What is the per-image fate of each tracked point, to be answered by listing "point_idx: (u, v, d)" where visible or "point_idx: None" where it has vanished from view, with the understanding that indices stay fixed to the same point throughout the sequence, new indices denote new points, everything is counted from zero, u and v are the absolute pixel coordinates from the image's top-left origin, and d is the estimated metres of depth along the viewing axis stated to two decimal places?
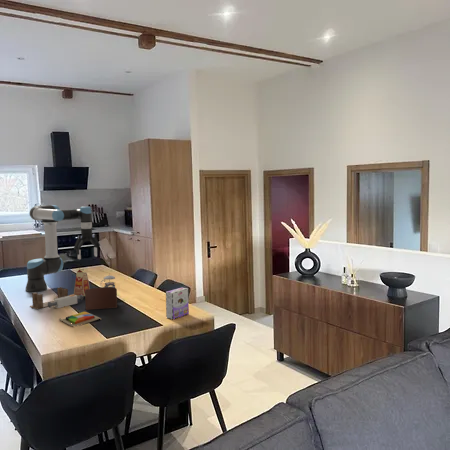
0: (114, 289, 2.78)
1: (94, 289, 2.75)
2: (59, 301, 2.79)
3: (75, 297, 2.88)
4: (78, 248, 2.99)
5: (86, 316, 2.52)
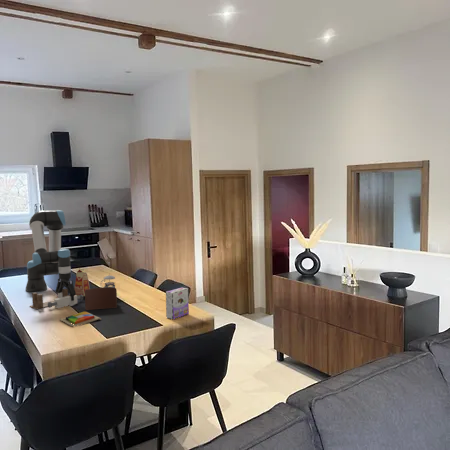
0: (114, 289, 2.78)
1: (94, 289, 2.74)
2: (59, 301, 2.79)
3: (75, 297, 2.88)
4: (57, 291, 2.89)
5: (86, 316, 2.52)
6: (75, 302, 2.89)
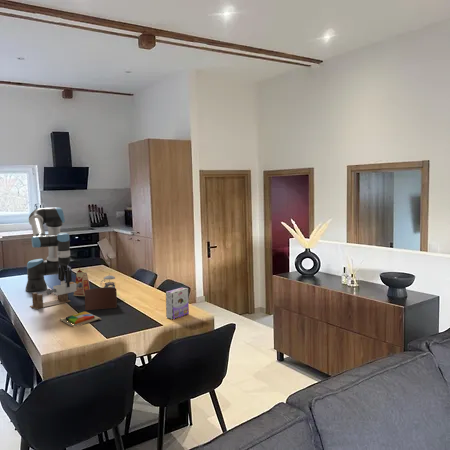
0: (114, 289, 2.78)
1: (94, 289, 2.74)
2: (58, 288, 2.79)
3: (74, 284, 2.88)
4: (60, 279, 2.86)
5: (86, 316, 2.52)
6: (74, 289, 2.88)
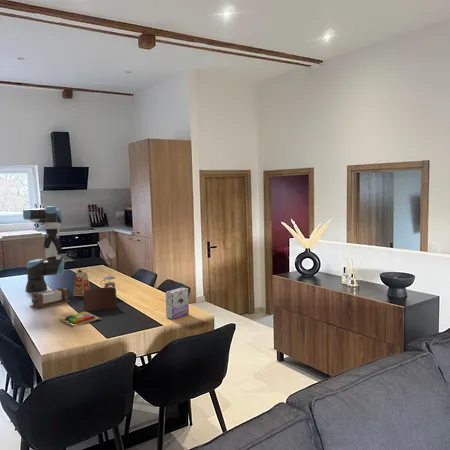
0: (113, 289, 2.77)
1: (93, 290, 2.73)
2: (43, 297, 2.81)
3: (59, 293, 2.91)
4: (45, 246, 3.04)
5: (86, 316, 2.52)
6: (59, 298, 2.91)
